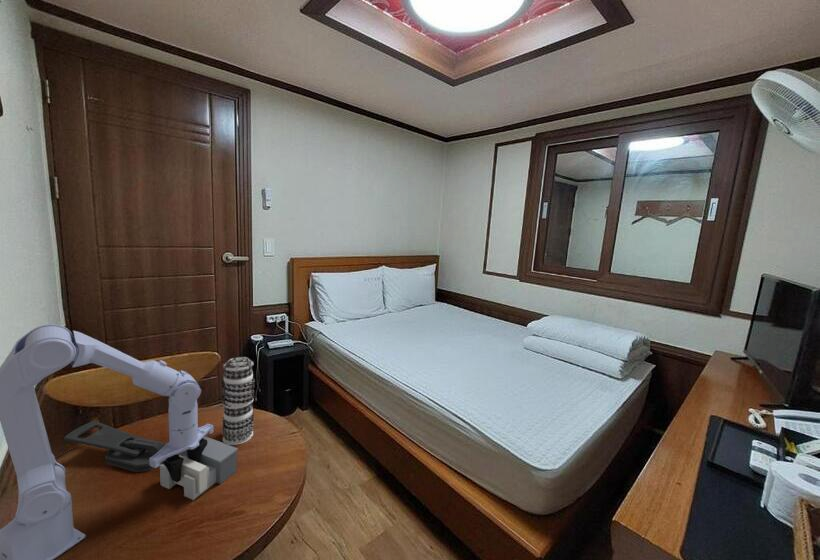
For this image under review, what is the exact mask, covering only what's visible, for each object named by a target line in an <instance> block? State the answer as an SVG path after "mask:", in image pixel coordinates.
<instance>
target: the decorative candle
mask: <svg viewBox="0 0 820 560" xmlns="http://www.w3.org/2000/svg"><path fill="white" fill-rule="evenodd" d="M254 363H255V362H254V361H253V360H252V359H250V358H249V357H247V356H235V357H232V358H230V359H229V360H227V361H226V362H225V364H224V363H223V365H222V368H223V369H224V371H223V372H224V373H223V378H221V379H220V380H221V381H220V384H221V385H220V387H221V399H222V400H221V401H222V402H221V405H222V406H223V408H224V410H223V416H222V420H221V422H222V430H221V432H222V435H221V436H222V443H224V444H227V445H230V446H236V445H242V444H245V443H247V442H248V441H249V440H251V439H252V438H253V436H254V426H255V424H254V417H255V415H254V414H255V413H254V411H253V402H254V399H255V390H254V388H255V387H256V379H255V378H254V371H253V366H254V365H255V364H254ZM251 437H252V438H251Z"/></svg>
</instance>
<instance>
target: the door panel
mask: <svg viewBox="0 0 820 560" xmlns="http://www.w3.org/2000/svg"><path fill="white" fill-rule="evenodd" d="M178 455H179V457H182V458H184V460H183V463H182V468H181V480H180V481H179V482H175V481H173V480H172V479H171V480H172V482H174V483H176V485H179V486H182V487H183V488H184V475H185V474H187V475H190V476H192V477H194V478H195V484H196V493H199V494H200V493H202V492H203V491H204V490H205V489H207V466H206V465H203V464H201V463H198V462H196V461H193V460H191V459H188V458H186V457H183V456H181V455H180V453H178ZM207 490H208V489H207ZM204 492H205V491H204ZM204 492H203V493H204ZM203 493H202V494H203Z"/></svg>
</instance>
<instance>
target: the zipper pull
mask: <svg viewBox="0 0 820 560" xmlns="http://www.w3.org/2000/svg"><path fill="white" fill-rule="evenodd" d="M95 428H99V430H97V431H96V432H94V433H91V435H89V436H87V437H82V438H80V437H79V436H81V435H83V434H86V433H87V432H89V431H90V430H92V429H95ZM63 439H64V441H65V442H66V441H67V442H71V443H75V444H82V445H86V446H91V447H95V448H101V449H104V450H105V449H106V450H108V451H107V452H106V454H105V456H104V461H105V462H104V463H105V465H108V466H112V467H115V468H116V467H117V468H121V469H124V470H127V471H129V472H130V471H131V472H135V473H143V472H149V471H151V470H153V469H155V468H154V467H151V466H150V463H149V458H150V457H152V456H153V455H155V454H156V453H157V452H158V451H159V450H160V449H162V448H163V447H164V446H165V445H166V444H167V442H162V441H158V440H155V439H154V440H153V439H147V438H145V437H141V436H138V435H134V434H132V433H128V432H126V431H123V430H121V429H117V428H115V427H112V426H109V425H107V424H104V423H101V422H98V421H96V420H93V421H90V422H88V423H86V424H83V425H81V426H79V427H77V428H75V429H74V430H72V431H71V432H69V433H68V434H66V436H64V438H63ZM161 464H163V463H162V462H161V463H160V465H161Z"/></svg>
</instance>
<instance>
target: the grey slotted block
mask: <svg viewBox="0 0 820 560" xmlns="http://www.w3.org/2000/svg"><path fill="white" fill-rule="evenodd" d="M204 439H206V440H207V446H206V447H205V449H204V450H203V452H202V455H201V457H200V460H199V463H201V464H203V465H206V466H207V489H205V490H204V491H203V492H202V493H200V494H199V493H196V484H195V478H194V477H192V476H190V475H187V474H185V475H184V487H183V492H184V493H183V497H186V498H188V499H190V500H192V501H195V500H196V499H197V498H198V497H200V496H201V495H202V494H203V493H205V492H206V491H207V490H208V489H209V488H211V487H212V486H213V485H214V484H220V485H221V484H222V483H224V482H225V481H227V480H228V479H229V478H230V477H231V476H232V475H233V474H235V473H236V472H237V468H238V467H237V465H238V464H237V463H238V461H237V460H238V459H237V456H238V454H237V453H238V451H239V448H237V447H235V446H234V445H228V444H225V443H224V442H223V441H222V442H221V441H219V440H217V439H213V438H210V437H208V436H207V435H205V436H204ZM179 455H181V456H183V457H186V458H188V455H187V450H185V451H183V452H180V453H179ZM159 474H160V475H159V477H160V478H159V479H160V481H159V482H160V486H161V487H163V488H166V489H168V490H170V489H172V488H173V487H174V486H176V485H177V484H176V483H174V482H172V480H171V476H170V473H169V471H168V469H167V468H166V466H165V465H164V464H163V463H162V464H160V466H159Z"/></svg>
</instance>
